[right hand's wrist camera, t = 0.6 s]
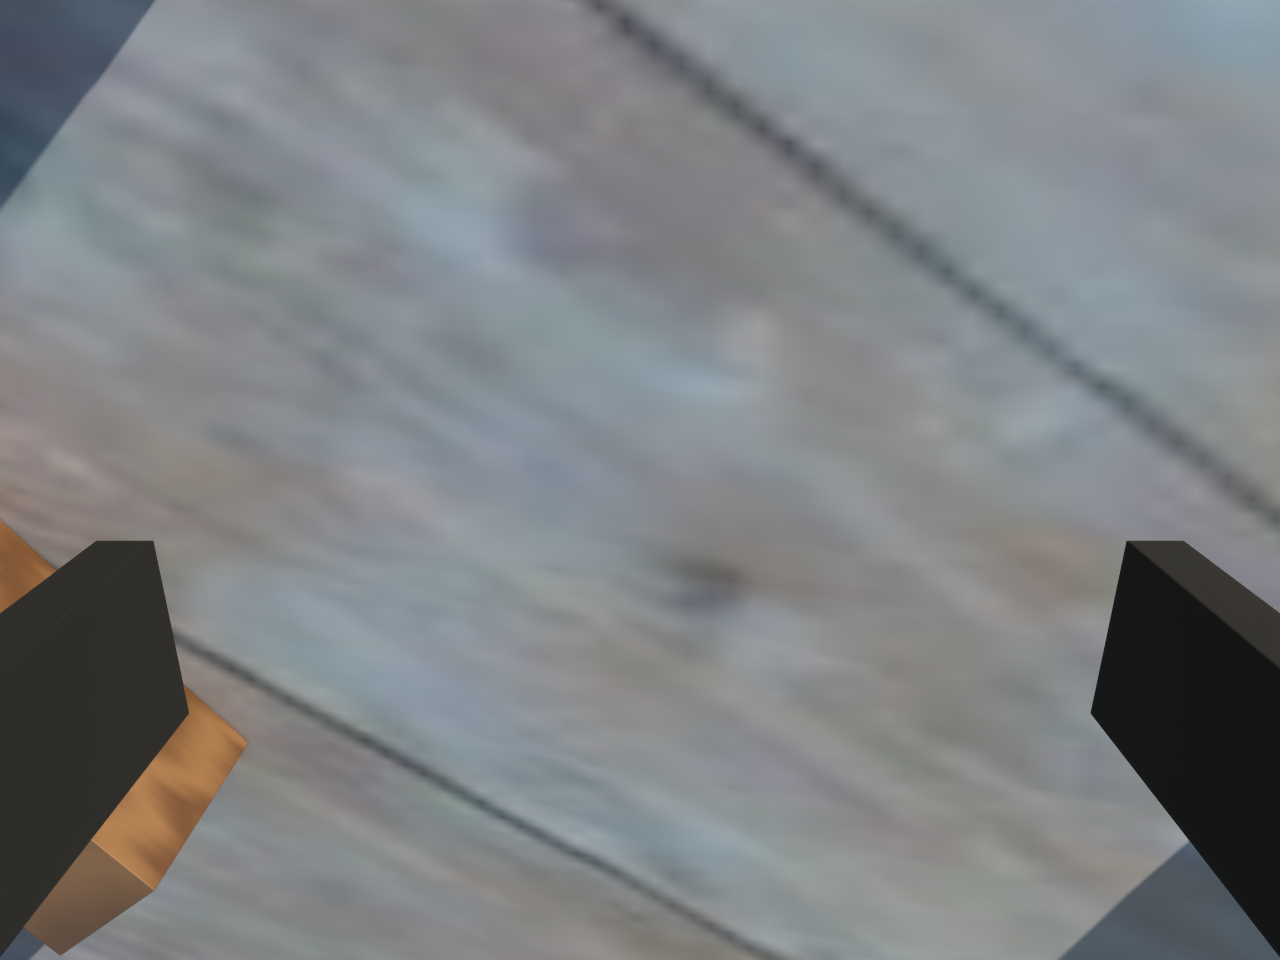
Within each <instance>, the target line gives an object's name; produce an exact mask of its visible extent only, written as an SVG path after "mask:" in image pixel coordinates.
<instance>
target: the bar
mask: <svg viewBox="0 0 1280 960" xmlns="http://www.w3.org/2000/svg"><path fill="white" fill-rule="evenodd" d="M56 571H57V570H55V569H54V568H53V567H52V566H51V565H50V564H49V563H48V562H47V561H45V560H44V559H43V558H42V557H41V556H40V555H39V554H38V553H36V552H35V551H34V550H33V549H32V548H31V547H30V546H29V545H28V544H26V543H25V542H24V541H23V540H22V539H21V538H20V537H19V536H18V535H16V534H15V533H14V532H13V531H12V530H11V529H10V528H9V527H8V526H6V525H5V524H4V523H3V522H2V521H1V520H0V613H1V612H3V611H4V610H5V609H7V608H8V607H9V606H11V605H12V604H13V603H14V602H16V601H17V600H18V599H20V598H21V597H22V596H24V595H25V594H26V593H28V592H29V591H30V590H32V589H33V588H34V587H36V586H37V585H38V584H40V583H41V582H42V581H44V580H45V579H46V578H48V577H49V576H50V575H52V574H53V573H54V572H56ZM183 685H184V684H183ZM184 690H185V695H186V700H187V705H188V709H189V714H188V716H187V717H186V718H185V719H184V721H183V722H182V723H181V725H180V726H179V727H178V729H177V730H176V731H175V732H174V734H173V735H172V736H171V738H170V739H169V740H168V741H167V743H166V744H165V745H164V747H163V748H162V749H161V750H160V752H159V753H158V754H157V756H156V757H155V758H154V759H153V761H152V762H151V763H150V765H149V766H148V767H147V768H146V770H145V771H144V772H143V774H142V775H141V776H140V777H139V779H138V780H137V781H136V783H135V784H134V785H133V787H132V788H131V789H130V790H129V792H128V793H127V794H126V796H125V797H124V798H123V799H122V801H121V802H120V803H119V805H118V806H117V807H116V808H115V810H114V811H113V812H112V814H111V815H110V816H109V817H108V819H107V820H106V821H105V823H104V824H103V825H102V826H101V828H100V829H99V830H98V832H97V833H96V834H95V835H94V837H93V838H92V839H91V841H90V842H89V843H88V845H87V846H86V847H85V848H84V850H83V851H82V852H81V854H80V855H79V856H78V857H77V859H76V860H75V861H74V863H73V864H72V865H71V866H70V868H69V869H68V870H67V872H66V873H65V874H64V875H63V877H62V878H61V879H60V881H59V882H58V883H57V884H56V886H55V887H54V888H53V890H52V891H51V892H50V894H49V895H48V896H47V897H46V899H45V900H44V901H43V903H42V904H41V905H40V906H39V908H38V909H37V910H36V912H35V913H34V914H33V915H32V917H31V918H30V919H29V921H28V922H27V923H26V924H25V926H24V927H23V928H24V929H26V930H27V931H28V932H30V933H31V934H32V935H34V936H35V937H36V938H38V939H39V940H40V941H42V942H43V943H44V944H46V945H47V946H48V947H50V948H51V949H52V950H54V951H55V952H56V953H58V954H59V955H62V954H63V953H65V952H66V951H68V950H69V949H71V948H72V947H74V946H75V945H76V944H78V943H79V942H81V941H82V940H84V939H85V938H86V937H88V936H89V935H91V934H92V933H94V932H95V931H97V930H98V929H99V928H101V927H102V926H104V925H105V924H107V923H108V922H110V921H111V920H112V919H114V918H115V917H117V916H118V915H120V914H121V913H122V912H124V911H125V910H127V909H128V908H130V907H131V906H133V905H134V904H135V903H137V902H138V901H140V900H141V899H143V898H144V897H146V896H147V895H148V894H150V893H151V892H153V891H154V890H155V889H156V887H157V886H158V884H159V882H160V881H161V879H162V878H163V876H164V875H165V873H166V872H167V870H168V868H169V867H170V865H171V864H172V862H173V861H174V859H175V857H176V856H177V854H178V853H179V851H180V850H181V848H182V846H183V845H184V843H185V842H186V840H187V839H188V837H189V835H190V834H191V832H192V831H193V829H194V828H195V826H196V824H197V823H198V821H199V820H200V818H201V817H202V815H203V813H204V812H205V810H206V809H207V807H208V806H209V804H210V802H211V801H212V799H213V798H214V796H215V795H216V793H217V791H218V790H219V788H220V787H221V785H222V784H223V782H224V780H225V779H226V777H227V776H228V774H229V773H230V771H231V769H232V768H233V766H234V765H235V763H236V762H237V760H238V758H239V757H240V755H241V754H242V752H243V751H244V749H245V747H246V746H247V744H248V742H247V741H246V740H245V739H244V738H243V737H241V736H240V735H239V734H238V733H237V732H236V731H235V730H234V729H233V728H231V727H230V726H229V725H228V724H227V723H226V722H225V721H224V720H223V719H221V718H220V717H219V716H218V715H217V714H216V713H215V712H214V711H212V710H211V709H210V708H209V707H208V706H207V705H206V704H205V703H204V702H202V701H201V700H200V699H199V698H198V697H197V696H196V695H195V694H194V693H192V692H191V691H190V690H189V689H188V688H187V687H186V686H185V685H184Z"/></svg>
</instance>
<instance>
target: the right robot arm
mask: <svg viewBox="0 0 1280 960" xmlns="http://www.w3.org/2000/svg"><path fill="white" fill-rule="evenodd" d="M188 714H189V709H188V705H187V700H186V695H185V690H184V685H183V681H182V676H181V671H180V666H179V661H178V657H177V652H176V647H175V642H174V638H173V633H172V628H171V623H170V618H169V614H168V609H167V604H166V599H165V595H164V590H163V585H162V580H161V575H160V571H159V566H158V561H157V556H156V551H155V547H154V542H153V541H96V542H94V543H93V544H92V545H90V546H89V547H88V548H86V549H85V550H84V551H82V552H81V553H80V554H78V555H77V556H76V557H74V558H73V559H72V560H70V561H69V562H68V563H66V564H65V565H64V566H62V567H61V568H60V569H58V570H57V571H56V572H54V573H53V574H52V575H50V576H49V577H48V578H46V579H45V580H44V581H42V582H41V583H40V584H38V585H37V586H36V587H34V588H33V589H32V590H30V591H29V592H28V593H26V594H25V595H24V596H22V597H21V598H20V599H18V600H17V601H16V602H14V603H13V604H12V605H11V606H9V607H8V608H7V609H5V610H4V611H3V612H1V613H0V957H1V955H2V954H3V953H4V952H5V950H6V949H7V948H8V946H9V945H10V944H11V942H12V941H13V940H14V939H15V937H16V936H17V935H18V933H19V932H20V931H21V930H22V928H23V927H24V926H25V924H26V923H27V922H28V921H29V919H30V918H31V917H32V915H33V914H34V913H35V912H36V910H37V909H38V908H39V906H40V905H41V904H42V903H43V901H44V900H45V899H46V897H47V896H48V895H49V894H50V892H51V891H52V890H53V888H54V887H55V886H56V884H57V883H58V882H59V881H60V879H61V878H62V877H63V875H64V874H65V873H66V872H67V870H68V869H69V868H70V866H71V865H72V864H73V863H74V861H75V860H76V859H77V857H78V856H79V855H80V854H81V852H82V851H83V850H84V848H85V847H86V846H87V845H88V843H89V842H90V841H91V839H92V838H93V837H94V835H95V834H96V833H97V832H98V830H99V829H100V828H101V826H102V825H103V824H104V823H105V821H106V820H107V819H108V817H109V816H110V815H111V814H112V812H113V811H114V810H115V808H116V807H117V806H118V805H119V803H120V802H121V801H122V799H123V798H124V797H125V796H126V794H127V793H128V792H129V790H130V789H131V788H132V787H133V785H134V784H135V783H136V781H137V780H138V779H139V777H140V776H141V775H142V774H143V772H144V771H145V770H146V768H147V767H148V766H149V765H150V763H151V762H152V761H153V759H154V758H155V757H156V756H157V754H158V753H159V752H160V750H161V749H162V748H163V747H164V745H165V744H166V743H167V741H168V740H169V739H170V738H171V736H172V735H173V734H174V732H175V731H176V730H177V729H178V727H179V726H180V725H181V723H182V722H183V721H184V719H185V718H186V717H187V716H188ZM1091 714H1092V716H1093V717H1094V718H1095V719H1096V721H1097V722H1098V723H1099V725H1100V726H1101V727H1102V729H1103V730H1104V731H1105V732H1106V734H1107V735H1108V736H1109V738H1110V739H1111V740H1112V741H1113V743H1114V744H1115V745H1116V747H1117V748H1118V749H1119V750H1120V752H1121V753H1122V754H1123V756H1124V757H1125V758H1126V759H1127V761H1128V762H1129V763H1130V765H1131V766H1132V767H1133V768H1134V770H1135V771H1136V772H1137V774H1138V775H1139V776H1140V777H1141V779H1142V780H1143V781H1144V783H1145V784H1146V785H1147V787H1148V788H1149V789H1150V790H1151V792H1152V793H1153V794H1154V796H1155V797H1156V798H1157V799H1158V801H1159V802H1160V803H1161V805H1162V806H1163V807H1164V808H1165V810H1166V811H1167V812H1168V814H1169V815H1170V816H1171V817H1172V819H1173V820H1174V821H1175V823H1176V824H1177V825H1178V826H1179V828H1180V829H1181V830H1182V832H1183V833H1184V834H1185V835H1186V837H1187V838H1188V839H1189V841H1190V842H1191V843H1192V845H1193V846H1194V847H1195V848H1196V850H1197V851H1198V852H1199V854H1200V855H1201V856H1202V857H1203V859H1204V860H1205V861H1206V863H1207V864H1208V865H1209V866H1210V868H1211V869H1212V870H1213V872H1214V873H1215V874H1216V875H1217V877H1218V878H1219V879H1220V881H1221V882H1222V883H1223V884H1224V886H1225V887H1226V888H1227V890H1228V891H1229V892H1230V894H1231V895H1232V896H1233V897H1234V899H1235V900H1236V901H1237V903H1238V904H1239V905H1240V906H1241V908H1242V909H1243V910H1244V912H1245V913H1246V914H1247V915H1248V917H1249V918H1250V919H1251V921H1252V922H1253V923H1254V924H1255V926H1256V927H1257V928H1258V930H1259V931H1260V932H1261V933H1262V935H1263V936H1264V937H1265V939H1266V940H1267V941H1268V942H1269V944H1270V945H1271V946H1272V948H1273V949H1274V950H1275V952H1276V953H1277V954H1278V955H1279V957H1280V613H1279V612H1277V611H1276V610H1275V609H1273V608H1272V607H1271V606H1269V605H1268V604H1267V603H1266V602H1264V601H1263V600H1262V599H1260V598H1259V597H1258V596H1256V595H1255V594H1254V593H1252V592H1251V591H1250V590H1248V589H1247V588H1246V587H1244V586H1243V585H1242V584H1240V583H1239V582H1238V581H1236V580H1235V579H1234V578H1232V577H1231V576H1230V575H1228V574H1227V573H1226V572H1224V571H1223V570H1222V569H1220V568H1219V567H1218V566H1216V565H1215V564H1214V563H1212V562H1211V561H1210V560H1208V559H1207V558H1206V557H1204V556H1203V555H1202V554H1200V553H1199V552H1198V551H1196V550H1195V549H1194V548H1192V547H1191V546H1190V545H1188V544H1187V543H1186V542H1184V541H1127V542H1126V547H1125V551H1124V556H1123V561H1122V566H1121V571H1120V575H1119V580H1118V585H1117V590H1116V595H1115V599H1114V604H1113V609H1112V614H1111V618H1110V623H1109V628H1108V633H1107V638H1106V642H1105V647H1104V652H1103V657H1102V661H1101V666H1100V671H1099V676H1098V681H1097V685H1096V690H1095V695H1094V700H1093V705H1092V709H1091Z"/></svg>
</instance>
